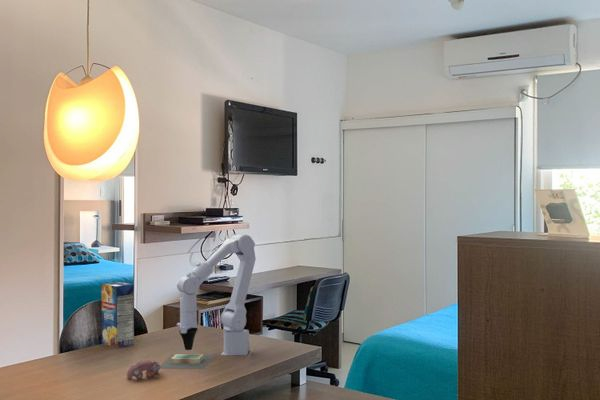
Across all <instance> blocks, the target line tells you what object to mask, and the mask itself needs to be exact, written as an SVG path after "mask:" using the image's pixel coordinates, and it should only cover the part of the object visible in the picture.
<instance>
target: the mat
mask: <svg viewBox="0 0 600 400" xmlns="http://www.w3.org/2000/svg"><path fill="white" fill-rule="evenodd" d="M174 355H175V354H171V355H169V357H168V358H166V359H165V360H164V361H163V362H162V363H161V364H159V365H160V369H161V370H162V369H165V370H169V369H170V370H172V369H176V370H179V369H180V370H184V369H185V370H186V369H187V370H193V369H194V370H205V368H206V367H208V365H209V364H210V362H211V361H212V360H213V359H214V357H215V356H216V354H203V360H202V361H201V363H200V364H176V363H171V358H172V357H173V356H174ZM160 369H159V370H160Z"/></svg>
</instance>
